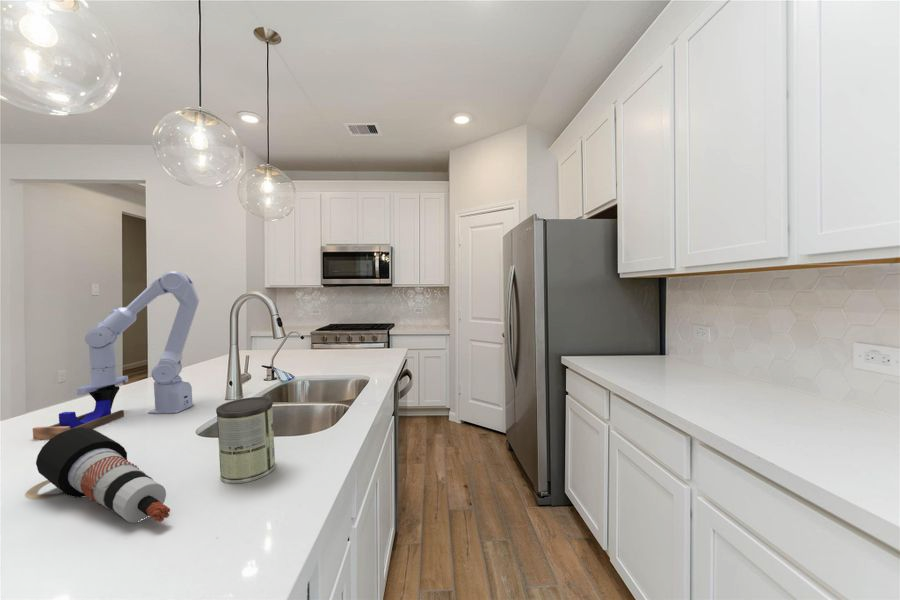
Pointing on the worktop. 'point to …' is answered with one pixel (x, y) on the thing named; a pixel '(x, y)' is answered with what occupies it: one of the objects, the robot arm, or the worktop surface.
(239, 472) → the coffee can
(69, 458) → the cable
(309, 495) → the worktop surface
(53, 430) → the brown wooden piece
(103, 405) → the cable clip
